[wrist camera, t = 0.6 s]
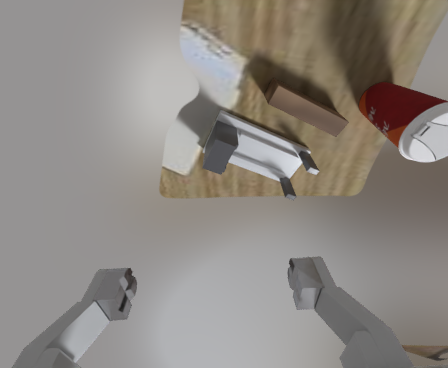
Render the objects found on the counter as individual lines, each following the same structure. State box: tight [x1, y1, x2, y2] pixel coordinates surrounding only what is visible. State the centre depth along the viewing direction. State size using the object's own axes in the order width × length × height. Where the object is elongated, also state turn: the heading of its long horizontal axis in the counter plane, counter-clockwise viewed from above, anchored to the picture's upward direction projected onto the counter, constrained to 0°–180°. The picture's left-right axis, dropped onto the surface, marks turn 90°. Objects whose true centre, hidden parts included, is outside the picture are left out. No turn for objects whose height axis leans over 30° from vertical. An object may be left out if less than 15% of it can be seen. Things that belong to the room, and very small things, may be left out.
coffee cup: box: [359, 82, 448, 162], centre depth 33 cm, size 8×8×15 cm
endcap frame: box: [203, 110, 319, 200], centre depth 41 cm, size 9×20×9 cm, turn 66°
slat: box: [264, 78, 349, 137], centre depth 37 cm, size 3×14×5 cm, turn 65°
